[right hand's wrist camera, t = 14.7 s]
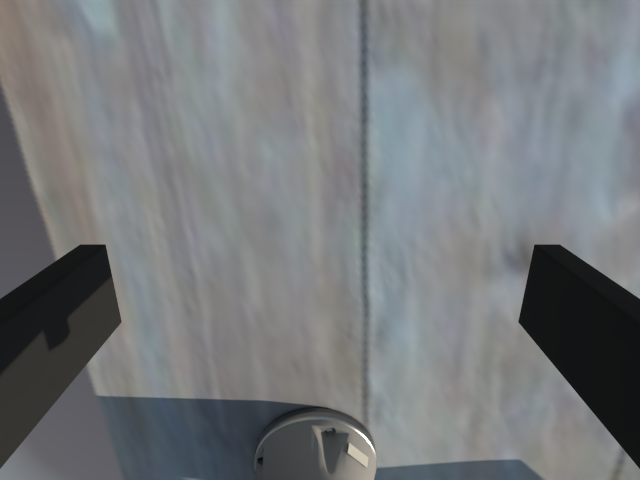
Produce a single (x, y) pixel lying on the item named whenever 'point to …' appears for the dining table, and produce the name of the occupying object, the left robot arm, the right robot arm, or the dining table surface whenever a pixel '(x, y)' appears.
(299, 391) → the dining table surface
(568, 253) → the right robot arm
